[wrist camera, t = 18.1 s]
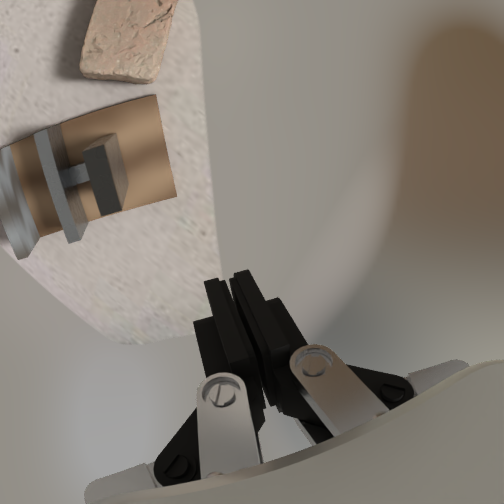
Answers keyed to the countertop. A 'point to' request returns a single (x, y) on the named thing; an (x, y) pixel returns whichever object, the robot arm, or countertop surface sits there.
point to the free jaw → (82, 178)
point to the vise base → (76, 140)
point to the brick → (126, 40)
